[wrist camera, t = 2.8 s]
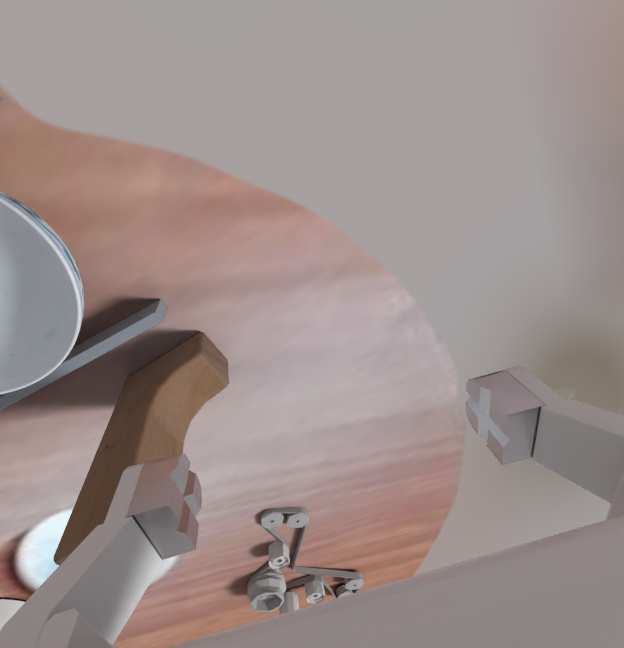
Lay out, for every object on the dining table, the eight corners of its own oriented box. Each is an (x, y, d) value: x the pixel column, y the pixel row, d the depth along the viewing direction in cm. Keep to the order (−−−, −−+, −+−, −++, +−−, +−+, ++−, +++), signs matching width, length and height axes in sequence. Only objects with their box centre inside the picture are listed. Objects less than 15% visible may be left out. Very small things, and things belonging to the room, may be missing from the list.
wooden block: (202, 328, 35) (186, 478, 19) (229, 360, 37) (236, 519, 21) (125, 377, 35) (47, 564, 19) (156, 405, 37) (109, 594, 21)
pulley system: (291, 613, 62) (368, 577, 61) (294, 647, 58) (377, 609, 57) (198, 534, 50) (293, 487, 49) (194, 569, 46) (297, 518, 45)
